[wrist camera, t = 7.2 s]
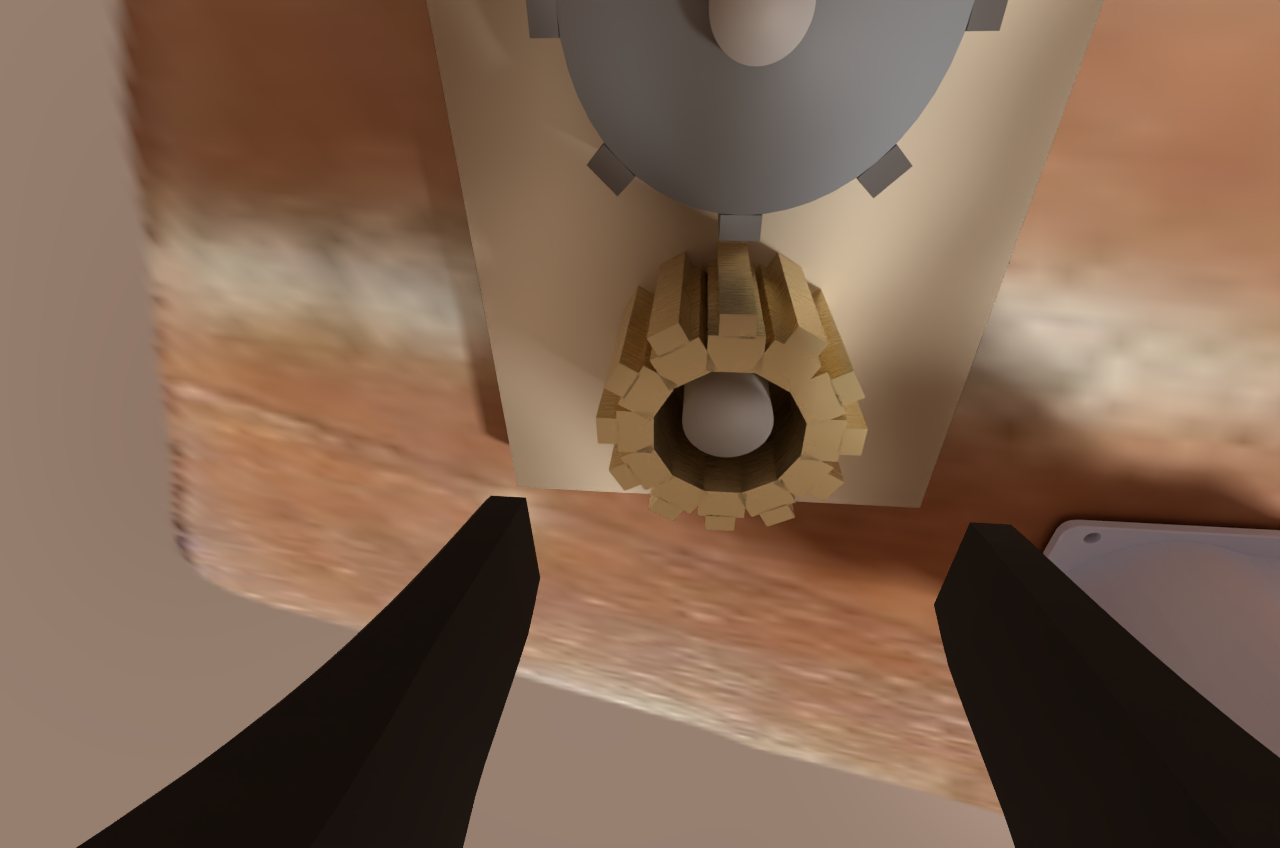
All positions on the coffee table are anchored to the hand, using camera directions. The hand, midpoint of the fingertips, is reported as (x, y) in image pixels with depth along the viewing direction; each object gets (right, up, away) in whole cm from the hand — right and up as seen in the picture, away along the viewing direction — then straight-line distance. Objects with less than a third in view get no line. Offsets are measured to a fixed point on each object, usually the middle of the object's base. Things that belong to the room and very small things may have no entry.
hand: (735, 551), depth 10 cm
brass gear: (+1, +4, +6) cm, 7 cm away
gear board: (+1, +8, +5) cm, 9 cm away
